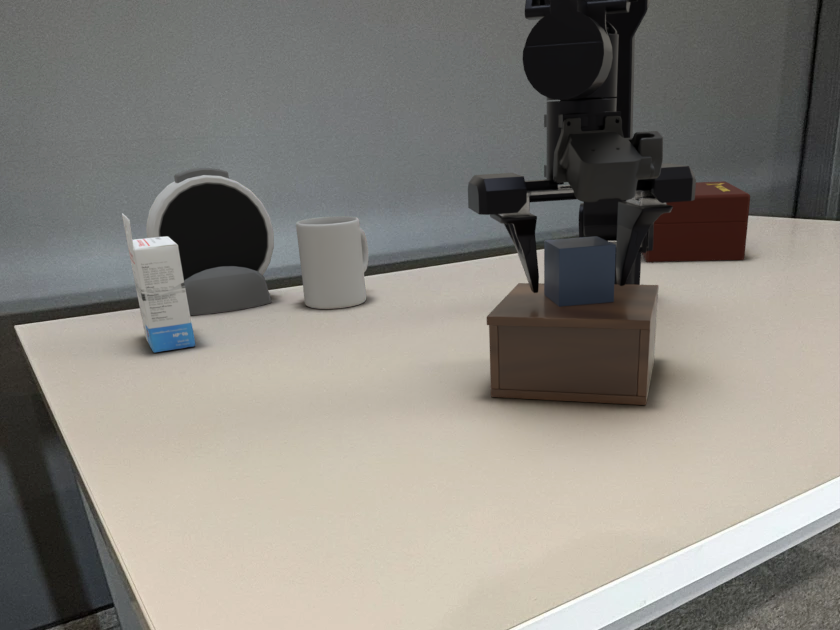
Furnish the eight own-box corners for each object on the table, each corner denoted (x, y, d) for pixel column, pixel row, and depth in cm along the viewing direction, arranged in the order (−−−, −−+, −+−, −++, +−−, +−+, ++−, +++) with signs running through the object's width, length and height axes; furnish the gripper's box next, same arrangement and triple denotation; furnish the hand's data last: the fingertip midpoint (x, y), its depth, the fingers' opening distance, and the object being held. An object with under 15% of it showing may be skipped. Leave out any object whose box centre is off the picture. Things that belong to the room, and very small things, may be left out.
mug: (341, 311, 105) (332, 225, 100) (292, 306, 109) (281, 223, 104) (392, 292, 114) (387, 213, 110) (345, 288, 118) (338, 212, 114)
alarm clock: (169, 320, 105) (141, 174, 97) (157, 306, 113) (130, 170, 106) (288, 302, 111) (270, 164, 104) (268, 290, 120) (250, 161, 112)
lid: (649, 330, 64) (650, 320, 64) (486, 325, 68) (486, 316, 68) (658, 293, 76) (658, 284, 76) (518, 290, 80) (518, 282, 79)
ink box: (198, 346, 92) (174, 215, 86) (153, 354, 90) (126, 219, 84) (186, 331, 99) (164, 208, 93) (144, 337, 97) (118, 212, 91)
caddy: (646, 405, 68) (650, 327, 65) (490, 397, 71) (488, 323, 69) (654, 361, 79) (658, 293, 76) (519, 356, 82) (518, 291, 80)
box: (629, 241, 146) (631, 183, 142) (722, 238, 143) (727, 180, 139) (637, 262, 127) (640, 196, 123) (744, 259, 124) (751, 193, 120)
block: (595, 290, 75) (597, 236, 73) (613, 302, 70) (616, 244, 68) (544, 294, 74) (544, 240, 72) (559, 306, 69) (559, 248, 67)
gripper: (489, 104, 57) (494, 318, 63) (735, 91, 59) (717, 299, 65) (463, 105, 67) (470, 289, 73) (674, 95, 69) (663, 274, 76)
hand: (578, 288), depth 72 cm, fingers open, 8 cm apart
